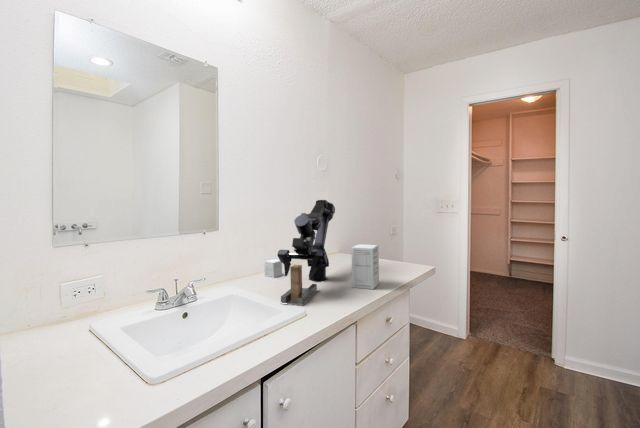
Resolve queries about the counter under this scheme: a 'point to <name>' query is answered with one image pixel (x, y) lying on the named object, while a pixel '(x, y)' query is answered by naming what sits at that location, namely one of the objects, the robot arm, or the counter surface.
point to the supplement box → (365, 266)
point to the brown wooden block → (296, 281)
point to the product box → (273, 268)
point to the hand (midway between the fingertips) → (297, 276)
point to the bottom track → (302, 298)
